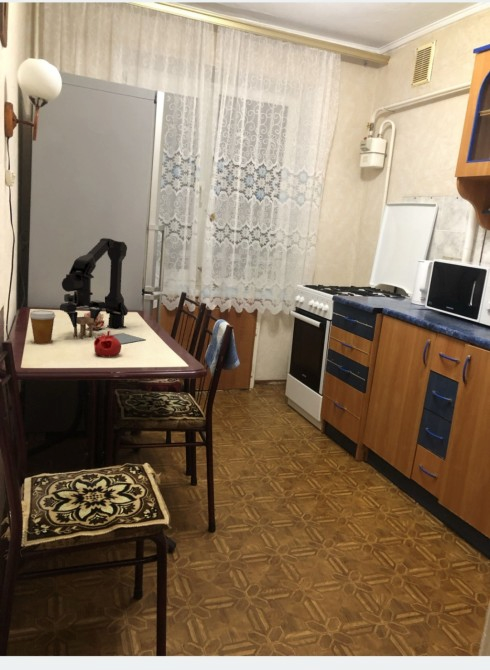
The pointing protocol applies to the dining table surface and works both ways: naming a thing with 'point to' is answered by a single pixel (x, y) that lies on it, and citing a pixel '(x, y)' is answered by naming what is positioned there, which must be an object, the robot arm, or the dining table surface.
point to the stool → (84, 326)
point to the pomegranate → (107, 345)
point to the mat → (126, 338)
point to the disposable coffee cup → (42, 325)
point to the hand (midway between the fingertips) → (83, 326)
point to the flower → (96, 321)
